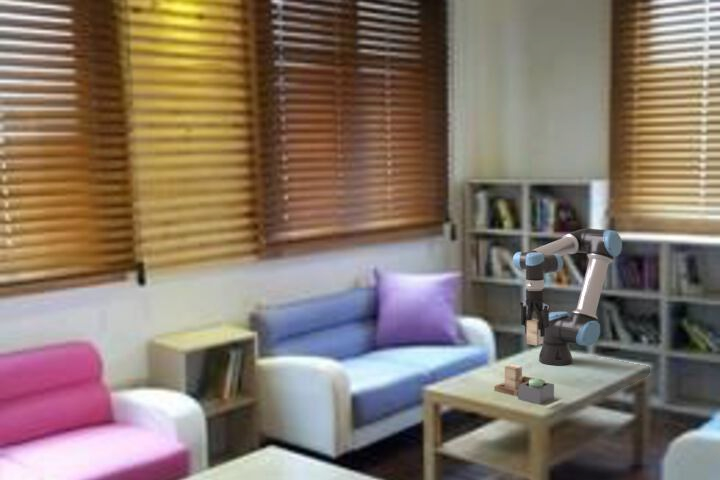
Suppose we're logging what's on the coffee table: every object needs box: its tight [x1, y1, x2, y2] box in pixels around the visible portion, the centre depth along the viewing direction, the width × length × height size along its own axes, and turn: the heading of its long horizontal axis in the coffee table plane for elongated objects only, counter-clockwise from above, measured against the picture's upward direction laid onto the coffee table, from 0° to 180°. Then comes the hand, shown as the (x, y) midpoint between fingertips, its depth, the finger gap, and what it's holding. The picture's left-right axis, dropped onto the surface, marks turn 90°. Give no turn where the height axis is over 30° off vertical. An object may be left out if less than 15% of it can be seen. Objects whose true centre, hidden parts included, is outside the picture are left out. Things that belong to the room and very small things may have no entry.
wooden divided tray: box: [493, 375, 545, 397], centre depth 341 cm, size 20×11×3 cm, turn 135°
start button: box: [529, 378, 543, 388], centre depth 326 cm, size 6×6×3 cm
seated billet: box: [504, 364, 523, 390], centre depth 338 cm, size 5×5×10 cm
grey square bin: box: [517, 381, 555, 406], centre depth 326 cm, size 10×10×7 cm
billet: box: [526, 318, 540, 346], centre depth 354 cm, size 5×5×10 cm
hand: (534, 342), depth 354 cm, fingers closed on billet, 5 cm apart
